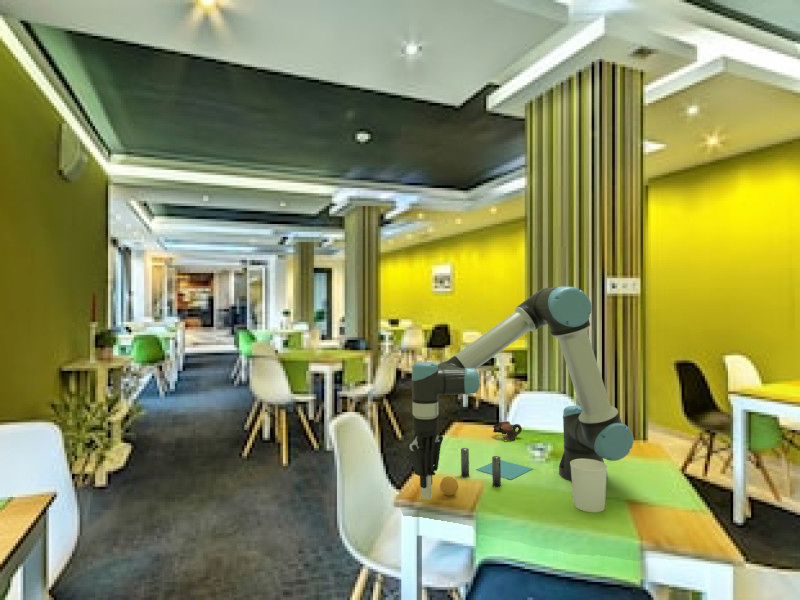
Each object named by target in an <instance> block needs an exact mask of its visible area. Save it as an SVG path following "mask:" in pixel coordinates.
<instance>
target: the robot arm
mask: <svg viewBox="0 0 800 600" xmlns="http://www.w3.org/2000/svg"><path fill="white" fill-rule="evenodd" d="M591 314H592V303H591V300H590V298H589V296H588V295H587V294H586V293H585V291H583V290H582V289H580V288H577V287H575V286H568V285H567V286H566V285H562V286H554V287H552V286H551V287H545V288H542V289H540V290H537V291H536V292H535V293H533V294H532V295H531V296H530V297H529V296H528V298H527V299H525V300H523V301H522V303H520V304H519V305H517V306H516V307H515V309H514V312H513V313H512V314H510V315H509V316H507V317H506V318H504V319H503V320H502V321H500V322H499V323H498V324H496V325H495V326H494V327H492V328H490V329H489V330H488V331H487V332H485V333H483V335H481V336H479V337H478V338H477V339H476V340H474V341H473V342H471V343H470V344H469V345H467V346H466V347H464V348H462V349H461V350H460V351H458V352H457V353H456V354H455V355H453V356H452V357H450V358H449V359H447V360H445V361H441V362H438V363H436V362H433V361H420V362H415V363H414V364H413V365H412V368H411V369H412V371H411V393H412V400H411V401H412V402H411V403H412V416H413V417H412V430H413V432H414V435H413V441H412V442H411V443H408V444H407V448H408V450H409V453H410V457H411V463H412V468H413V473H414V475H416V476H418V477H419V486H420V490H421V494H420V495H421V498H423V499H425V500H430V499H431V500H432V495H433V494H432V490H433V488H432V487H433V476H435V475H436V472H437V470H438V468H439V463H440V462H439V460H440V453H441V447H442V443H443V441H444V437H443V436H440V435H438V430H439V414H440V413H439V396H448V395H449V396H451V395H452V396H453V395H472V394H476V393H477V392H478V391H479V389H480V377H479V372H478V370H477V369H478V368H479V367H481V366H483V365H484V364H485V363H487V362H488V361H490V360H491V359H492V358H494V357H495V356H496V355H498V354H499V353H501V352H502V351H503V350H504V349H506V348H508V347H509V346H510V345H511V344H514V342H516V341H517V340H518V339H520V338H521V337H523V336H524V335H525V334H527V333H528V332H535V331H537V330H538V329H539V328H541V327H543V326H548V329H549V332H550V334H551V336H552V337H554V338H555V339H557V340H558V343H559V347H560V349H561V351H562V355H563V357H564V361H565V365H566V367H567V370H568V373H569V376H570V377H569V378H570V379H571V384H572V386H573V389H574V392H575V395H576V397H577V398H576V399H577V401H578V403H579V405H567V406H566V407H564V408H563V415H562V419H563V424H562V425H563V426H562V427H563V452H562V455H561V459H560V462H559V465H558V474H559V476H561V478H563V479H566V480H569V481H571V482H572V479H571V466H570V462H571V461H572V460H575V459H593V460H597V461H601V462H603V463H605V461H604V460H606V461H611V462H616V461H620V460H622V459H624V458H625V457H626V456H627V455H629V454H630V451H631V449H632V448H633V447H634V446H633V445H634V434H633V432H632V430H631V429H630V428H629V427H628V426H627V424H624V423H623V422H622V419H621V416H620V413H619V410H618V408H616V407H615V406H613V405H611V403H610V400H609V396H608V393H607V389H606V387H605V384H604V380H603V378H602V374H601V372H600V367H599V366H598V362H597V359H596V355H595V353H594V349H593V347H592V343H591V340H590V338H589V333H588V330H589V329H590V327H591V322H590V318H591ZM607 480H608V474H607V475H606V481H607Z"/></svg>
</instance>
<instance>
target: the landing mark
mask: <svg viewBox="0 0 800 600" xmlns="http://www.w3.org/2000/svg"><path fill="white" fill-rule="evenodd" d="M500 460H501V479H505V478H506V480H509V479H510V480H509V481H512V480H514V479H516V478H518V477H520V476H522V475H525V474H526V473H528V472H531V471H532V470H534V468H532V467H528V466H525V465H521V464H518V463H513V462H509V461H506V460H503V459H500ZM475 470H476V471H478V472H481V473H485V474H489V475H492V462H490V463H488V464H485V465H483V466H480V467H478V468H476V469H475Z"/></svg>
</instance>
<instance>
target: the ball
mask: <svg viewBox="0 0 800 600" xmlns="http://www.w3.org/2000/svg"><path fill="white" fill-rule="evenodd" d="M439 489H440V491H441V492H442V493H443V495H446V497H447V496H448V497H450V496H454V495H456V493H457V491H458V489H459V483H458V481H457V479H456V478H455V477H453V476H449V475H448V476H445V477H443V478H441V480H440V483H439Z"/></svg>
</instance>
